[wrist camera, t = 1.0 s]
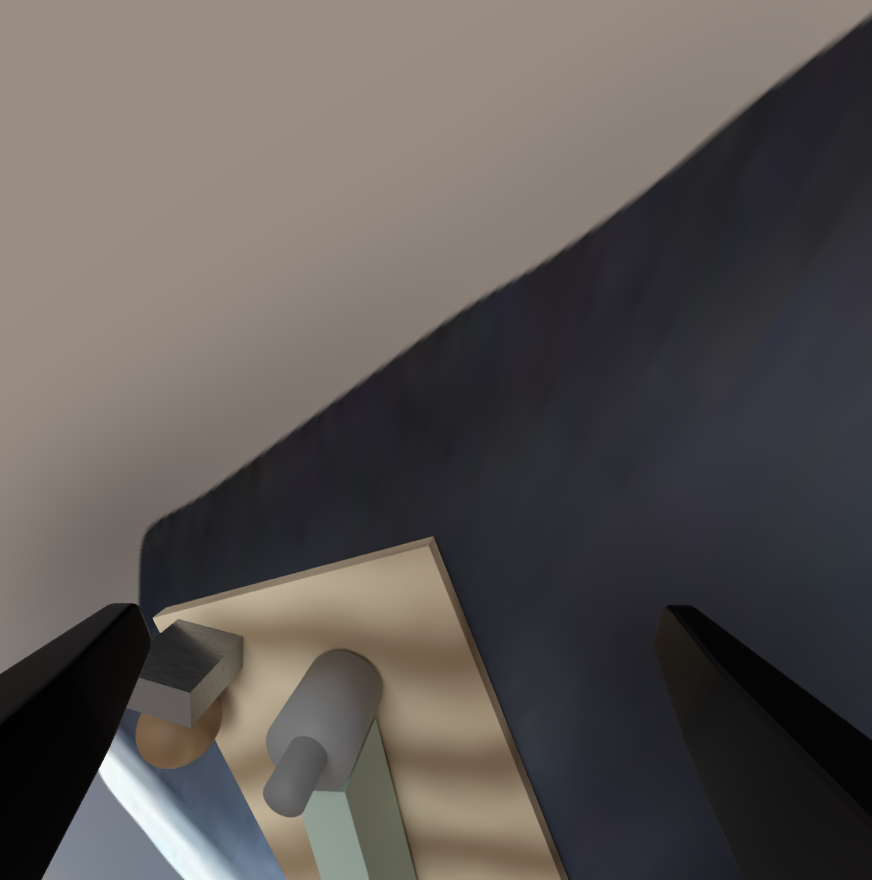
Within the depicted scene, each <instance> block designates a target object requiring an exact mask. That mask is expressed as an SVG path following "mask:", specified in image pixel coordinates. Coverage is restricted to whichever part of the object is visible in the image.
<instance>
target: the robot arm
mask: <svg viewBox="0 0 872 880" xmlns="http://www.w3.org/2000/svg"><path fill="white" fill-rule="evenodd" d="M654 647H655V652H656V655H657V658H658V662H659V665H660V668H661V671H662V674H663V677H664V680H665V684H666V687H667V690H668V693H669V696H670V699H671V702H672V706H673V709H674V712H675V715H676V718H677V721H678V724H679V728H680V731H681V734H682V736H683V739H684V742H685V745H686V748H687V750H688V753H689V755H690V758H691V760H692V763H693V765H694V767H695V770H696V772H697V774H698V777H699V779H700V781H701V784H702V786H703V788H704V791H705V793H706V795H707V798H708V800H709V803H710V805H711V807H712V810H713V812H714V814H715V817H716V819H717V821H718V824H719V826H720V828H721V831H722V833H723V835H724V838H725V840H726V842H727V845H728V847H729V849H730V852H731V854H732V857H733V859H734V861H735V864H736V866H737V868H738V871H739V873H740V875H741V878H742V880H872V740H871V739H870V738H868V737H867V736H866V735H864V734H863V733H862V732H860V731H859V730H858V729H856V728H855V727H854V726H852V725H851V724H850V723H848V722H847V721H846V720H844V719H843V718H842V717H840V716H839V715H838V714H836V713H835V712H834V711H832V710H831V709H830V708H828V707H827V706H826V705H824V704H823V703H822V702H820V701H819V700H818V699H816V698H815V697H814V696H812V695H811V694H810V693H808V692H807V691H806V690H804V689H803V688H802V687H800V686H799V685H798V684H796V683H795V682H794V681H792V680H791V679H790V678H788V677H787V676H786V675H784V674H783V673H782V672H780V671H779V670H778V669H776V668H775V667H774V666H772V665H771V664H770V663H768V662H767V661H766V660H764V659H763V658H762V657H760V656H759V655H758V654H756V653H755V652H754V651H752V650H751V649H750V648H748V647H747V646H746V645H744V644H743V643H742V642H740V641H739V640H738V639H736V638H735V637H734V636H732V635H731V634H730V633H728V632H727V631H726V630H724V629H723V628H722V627H720V626H719V625H718V624H716V623H715V622H714V621H712V620H711V619H710V618H708V617H707V616H706V615H704V614H703V613H702V612H700V611H699V610H698V609H696V608H695V607H693V606H690V605H668V606H666V607H665V608H664V610H663V613H662V616H661V619H660V622H659V625H658V628H657V631H656V634H655V638H654ZM150 648H151V635H150V632H149V629H148V627H147V624H146V622H145V619H144V616H143V614H142V611H141V609H140V607H139V606H138V605H136V604H133V603H114V604H110V605H107V606H106V607H104V608H102V609H101V610H99V611H98V612H96V613H94V614H93V615H92V616H90V617H88V618H87V619H85V620H84V621H82V622H80V623H79V624H77V625H76V626H74V627H73V628H71V629H69V630H68V631H66V632H65V633H63V634H62V635H60V636H59V637H57V638H56V639H54V640H52V641H51V642H49V643H48V644H46V645H44V646H43V647H41V648H40V649H38V650H37V651H35V652H34V653H32V654H30V655H29V656H27V657H26V658H24V659H23V660H21V661H20V662H18V663H16V664H15V665H13V666H12V667H10V668H9V669H7V670H6V671H4V672H2V673H1V674H0V880H42V878H43V876H44V874H45V872H46V870H47V868H48V866H49V864H50V862H51V860H52V858H53V856H54V854H55V853H56V851H57V849H58V847H59V845H60V843H61V841H62V839H63V837H64V835H65V833H66V831H67V829H68V827H69V826H70V824H71V822H72V820H73V818H74V816H75V814H76V812H77V810H78V808H79V806H80V804H81V802H82V800H83V799H84V797H85V794H86V793H87V791H88V789H89V787H90V785H91V783H92V781H93V779H94V777H95V775H96V773H97V772H98V770H99V768H100V766H101V764H102V762H103V760H104V758H105V756H106V754H107V752H108V750H109V748H110V746H111V743H112V741H113V739H114V737H115V734H116V732H117V730H118V727H119V725H120V722H121V720H122V718H123V715H124V713H125V710H126V708H127V705H128V703H129V701H130V698H131V696H132V693H133V691H134V688H135V686H136V683H137V681H138V679H139V676H140V674H141V671H142V669H143V666H144V664H145V661H146V659H147V657H148V654H149V651H150Z"/></svg>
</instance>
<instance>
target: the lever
mask: <svg viewBox="0 0 872 880" xmlns="http://www.w3.org/2000/svg"><path fill="white" fill-rule="evenodd" d="M381 696H382V687H381V683H380V680H379V677H378V675H377V674H376V672H375V671H374V669H373V668H372V667H371V666H370V665H369V664H368V663H367V662H366V661H365V660H363V659H362V658H360V657H359V656H357V655H355V654H352V653H349V652H346V651H329V652H326V653H323V654H321V655H319V656H318V657H317V658H316V659H315V660H314V661H313V663H312V664H311V666H310V667H309V669H308V670H307V672H306V673H305V675H304V676H303V678H302V679H301V681H300V682H299V684H298V685H297V687H296V688H295V690H294V691H293V693H292V694H291V696H290V697H289V699H288V700H287V702H286V704H285V705H284V707H283V708H282V710H281V711H280V713H279V714H278V716H277V717H276V719H275V720H274V722H273V723H272V725H271V726H270V728H269V730H268V732H267V736H266V748H267V752H268V754H269V757H270V759H271V761H272V763H273V764H274V766H275V767H276V768H275V769H274V771H273V773H272V774H271V776H270V778H269V780H268V781H267V783H266V785H265V786H264V789H263V797H264V800H265V802H266V803H267V805H268V806H269V807H270V808H271V809H272V810H273V811H274V812H276V813H277V814H279V815H281V816H284V817H290V818H293V817H297V816H299V815H302V818H303V821H304V824H305V828H306V831H307V834H308V838H309V841H310V844H311V847H312V851H313V854H314V857H315V861H316V864H317V867H318V870H319V874H320V877H321V880H416V876H415V872H414V868H413V864H412V860H411V856H410V852H409V848H408V844H407V840H406V836H405V832H404V828H403V824H402V820H401V816H400V812H399V809H398V805H397V801H396V797H395V793H394V789H393V785H392V781H391V777H390V773H389V769H388V765H387V761H386V757H385V753H384V749H383V745H382V741H381V737H380V733H379V729H378V725H377V721H376V717H374V715H375V712H376V710H377V708H378V705H379V703H380V700H381Z"/></svg>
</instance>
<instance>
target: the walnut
mask: <svg viewBox="0 0 872 880" xmlns="http://www.w3.org/2000/svg"><path fill="white" fill-rule="evenodd" d="M222 714H223V711H222V703H221V700H220V698H219V696H218V697H217V698H216V699H215V700H214V702H213V703H212V704H211V705H210V706H209V707H208V709H207V710H206V711H205V712H204V713H203V714H202V716H201V717H200V718H199V719H198V720H197V721H196V722H195V724H194V725H193V726H192V727H191V728H190V727H187V726H183V725H180V724H177V723H174V722H171V721H167V720H164V719H161V718H158V717H154V716H151V715H148V714H145V713H141V715H140V718H139V720H138V723H137V728H136V744H137V747H138V750H139V752H140V754H141V756H142V757H143V758H144V759H145V760H146V761H147V762H148V763H149V764H151V765H153V766H155V767H159V768H163V769H173V768H178V767H182V766H184V765H187V764H189V763H191V762H193V761H194V760H196V759H197V758H199V757H200V756H201V755H202V754H203V753H204V752H205V751H206V750H207V749H208V748H209V747H210V746H211V744H212V743H213V741H214V740H215V738H216V736H217V734H218V732H219V729H220V726H221V722H222Z"/></svg>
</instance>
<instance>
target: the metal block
mask: <svg viewBox="0 0 872 880" xmlns="http://www.w3.org/2000/svg"><path fill="white" fill-rule="evenodd" d="M242 668H243V636H241V635H237V634H233V633H230V632H226V631H222V630H218V629H215V628H211V627H207V626H203V625H200V624H196V623H192V622H188V621H185V620H181V619H177V620H176V621H175V622H174V623H172V624H171V625H170V626H169V627H168V628H166V629H165V630H164V631H163V632H161V633H160V634H159V635H158V636H157V637H155V638H154V639H153V640H152V641H151V648H150V651H149V654H148V657H147V659H146V661H145V664H144V666H143V669H142V671H141V674H140V676H139V679H138V681H137V683H136V686H135V688H134V691H133V693H132V696H131V698H130V701H129V703H128V705H127V708H129V709H132V710H135V711H138V712H142V713H145V714H148V715H151V716H154V717H158V718H161V719H164V720H167V721H171V722H174V723H177V724H180V725H183V726H187V727H190V728H191V727H192V726H193V725H194V724H195V722H196V721H197V720H198V719H199V718H200V717H201V716H202V714H203V713H204V712H205V711H206V710H207V709H208V707H209V706H210V705H211V704H212V703H213V702H214V700H215V699H216V698H217V697H218V696H219V695H220V693H221V692H222V691H223V690H224V689H225V688H226V686H227V685H228V684H229V683H230V682H231V681H232V679H233V678H234V677H235V676H236V675H237V674H238V672H239V671H240V670H241V669H242Z"/></svg>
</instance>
